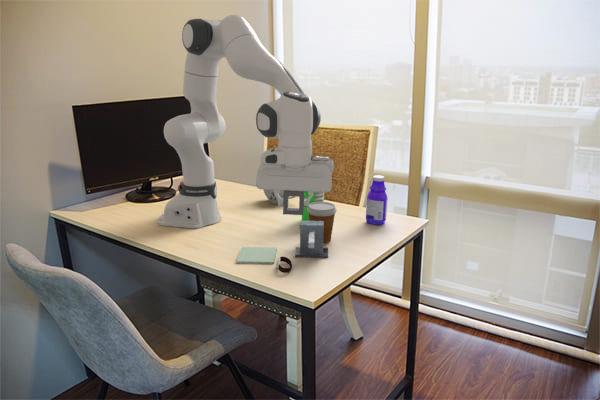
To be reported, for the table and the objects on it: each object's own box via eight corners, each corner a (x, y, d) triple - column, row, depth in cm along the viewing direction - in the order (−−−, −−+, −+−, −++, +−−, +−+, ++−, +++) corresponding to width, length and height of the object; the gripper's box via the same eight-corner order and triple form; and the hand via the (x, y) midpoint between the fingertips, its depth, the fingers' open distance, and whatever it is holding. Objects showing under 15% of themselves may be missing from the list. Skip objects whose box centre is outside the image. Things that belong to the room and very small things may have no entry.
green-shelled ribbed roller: (321, 226, 170) (322, 177, 165) (299, 225, 172) (299, 176, 166) (325, 218, 179) (326, 171, 173) (304, 216, 180) (304, 170, 175)
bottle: (387, 221, 175) (390, 175, 170) (383, 226, 170) (386, 179, 165) (368, 218, 178) (370, 173, 173) (363, 223, 173) (366, 177, 168)
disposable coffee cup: (326, 248, 152) (327, 212, 148) (301, 242, 156) (301, 207, 153) (340, 238, 159) (341, 204, 156) (315, 233, 164) (316, 199, 161)
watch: (275, 263, 141) (275, 252, 140) (291, 263, 141) (291, 251, 140) (276, 275, 134) (276, 263, 133) (293, 274, 134) (293, 262, 133)
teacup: (256, 203, 195) (256, 185, 193) (272, 196, 206) (271, 178, 204) (289, 209, 189) (289, 189, 186) (303, 200, 200) (303, 182, 197)
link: (283, 214, 130) (283, 191, 128) (283, 211, 131) (284, 189, 129) (303, 215, 129) (304, 192, 127) (303, 212, 131) (304, 190, 129)
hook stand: (293, 270, 136) (293, 237, 133) (295, 249, 150) (295, 219, 148) (328, 270, 136) (329, 238, 133) (327, 250, 150) (328, 219, 147)
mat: (236, 263, 141) (236, 261, 140) (242, 248, 151) (242, 246, 151) (273, 263, 140) (273, 262, 140) (276, 249, 151) (276, 247, 150)
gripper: (334, 154, 128) (331, 203, 132) (258, 151, 129) (258, 200, 133) (334, 159, 122) (332, 210, 126) (255, 156, 123) (255, 207, 127)
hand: (293, 205), depth 130 cm, fingers closed on link, 5 cm apart
